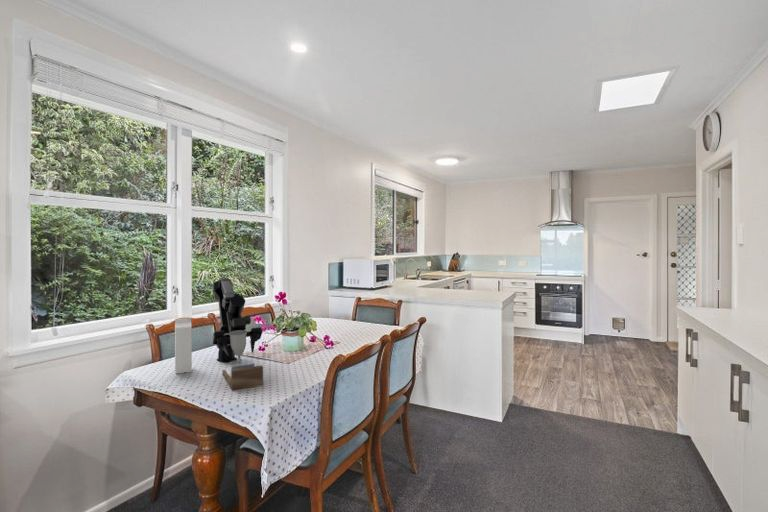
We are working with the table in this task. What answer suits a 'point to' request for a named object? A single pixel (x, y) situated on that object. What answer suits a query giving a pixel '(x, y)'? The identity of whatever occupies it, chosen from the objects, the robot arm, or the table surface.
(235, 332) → the chalice
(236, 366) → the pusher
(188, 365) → the milk
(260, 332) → the robot arm
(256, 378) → the brown wooden u-shaped piece
